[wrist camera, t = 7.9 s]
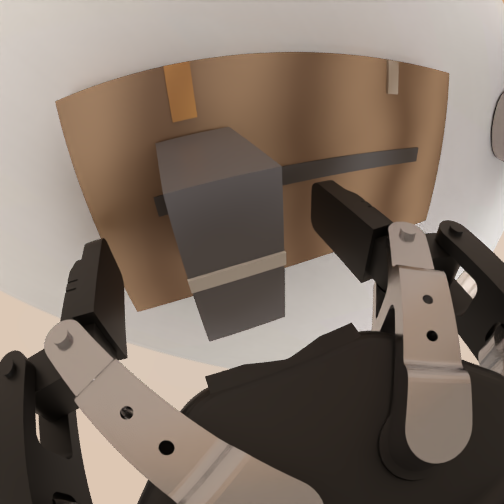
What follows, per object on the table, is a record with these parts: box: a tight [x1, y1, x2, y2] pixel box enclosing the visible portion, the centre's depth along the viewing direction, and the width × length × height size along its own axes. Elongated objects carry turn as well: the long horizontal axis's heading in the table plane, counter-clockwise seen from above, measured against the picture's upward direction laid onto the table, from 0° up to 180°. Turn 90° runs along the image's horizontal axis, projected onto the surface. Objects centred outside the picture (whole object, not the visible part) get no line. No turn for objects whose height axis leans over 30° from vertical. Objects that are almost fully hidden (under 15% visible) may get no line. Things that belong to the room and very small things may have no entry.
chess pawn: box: [457, 271, 477, 298], centre depth 35 cm, size 5×5×9 cm
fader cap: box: [155, 127, 286, 341], centre depth 10 cm, size 3×6×5 cm, turn 5°
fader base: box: [55, 52, 449, 312], centre depth 15 cm, size 22×12×3 cm, turn 95°
